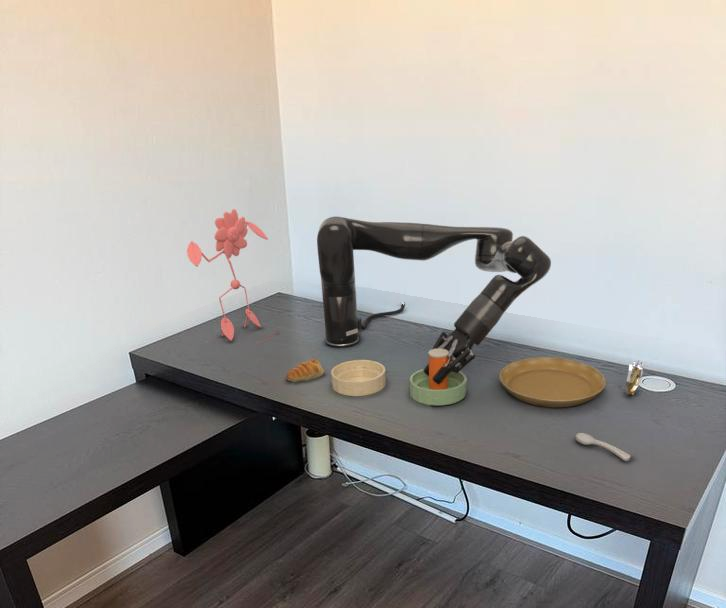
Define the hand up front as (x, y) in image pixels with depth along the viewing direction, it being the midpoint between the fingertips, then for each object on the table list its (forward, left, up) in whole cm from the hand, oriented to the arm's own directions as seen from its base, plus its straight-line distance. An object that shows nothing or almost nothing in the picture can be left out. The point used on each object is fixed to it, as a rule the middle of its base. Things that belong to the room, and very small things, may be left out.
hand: (430, 377), depth 159 cm
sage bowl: (-1, +1, -5) cm, 5 cm away
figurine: (-26, -63, -5) cm, 68 cm away
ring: (-12, +44, -5) cm, 46 cm away
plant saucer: (-10, +26, -5) cm, 29 cm away
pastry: (-3, -34, -5) cm, 34 cm away
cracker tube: (-1, +1, -4) cm, 4 cm away
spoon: (+15, +40, -5) cm, 43 cm away
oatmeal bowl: (-1, -19, -5) cm, 19 cm away
